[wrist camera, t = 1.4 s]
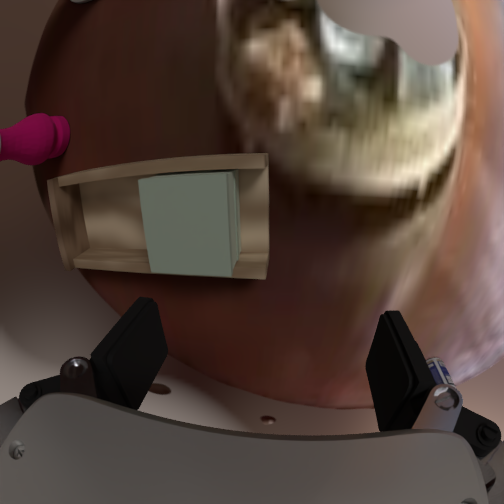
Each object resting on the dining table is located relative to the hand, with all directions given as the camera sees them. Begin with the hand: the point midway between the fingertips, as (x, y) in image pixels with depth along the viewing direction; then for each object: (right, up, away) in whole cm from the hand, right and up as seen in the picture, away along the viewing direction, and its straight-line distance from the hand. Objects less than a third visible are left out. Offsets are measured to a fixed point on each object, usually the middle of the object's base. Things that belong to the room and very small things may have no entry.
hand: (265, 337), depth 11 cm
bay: (-12, +9, +21) cm, 25 cm away
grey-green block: (-6, +8, +19) cm, 21 cm away
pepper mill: (-29, +20, +18) cm, 40 cm away
